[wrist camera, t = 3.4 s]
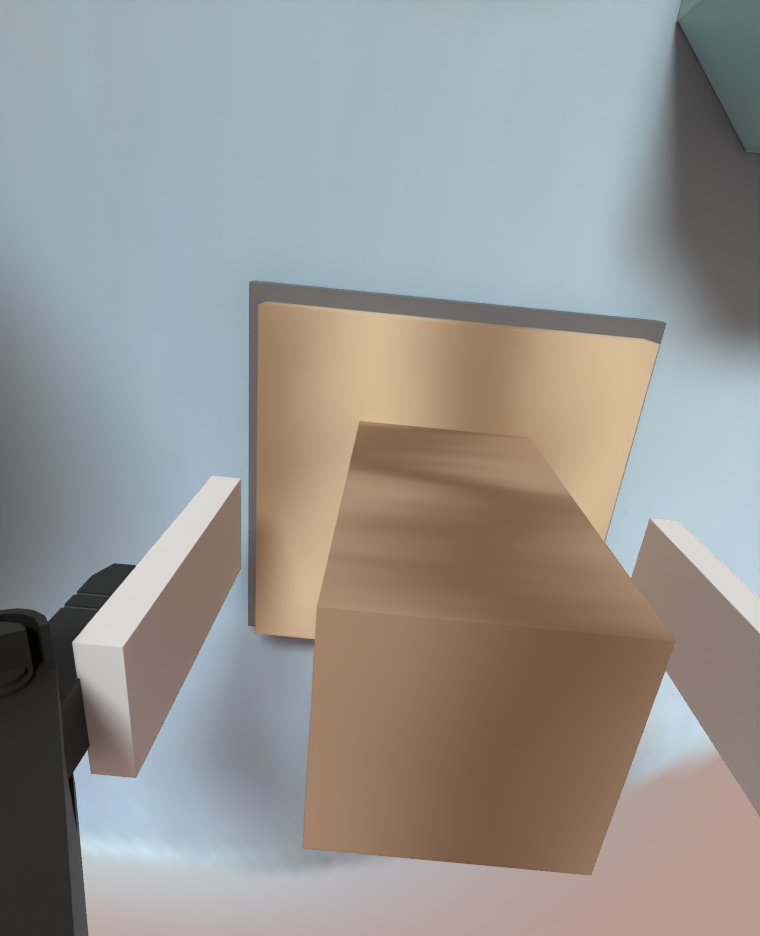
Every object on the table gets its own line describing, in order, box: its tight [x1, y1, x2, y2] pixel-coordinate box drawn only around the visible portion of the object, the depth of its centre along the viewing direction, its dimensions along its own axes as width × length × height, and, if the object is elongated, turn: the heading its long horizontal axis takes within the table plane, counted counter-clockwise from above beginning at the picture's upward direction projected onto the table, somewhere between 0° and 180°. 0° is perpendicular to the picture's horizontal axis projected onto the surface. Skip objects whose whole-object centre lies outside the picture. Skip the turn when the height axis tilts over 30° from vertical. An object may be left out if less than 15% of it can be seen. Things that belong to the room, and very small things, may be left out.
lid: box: [255, 302, 676, 875], centre depth 13 cm, size 11×11×10 cm
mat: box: [248, 281, 666, 626], centre depth 18 cm, size 12×12×1 cm
